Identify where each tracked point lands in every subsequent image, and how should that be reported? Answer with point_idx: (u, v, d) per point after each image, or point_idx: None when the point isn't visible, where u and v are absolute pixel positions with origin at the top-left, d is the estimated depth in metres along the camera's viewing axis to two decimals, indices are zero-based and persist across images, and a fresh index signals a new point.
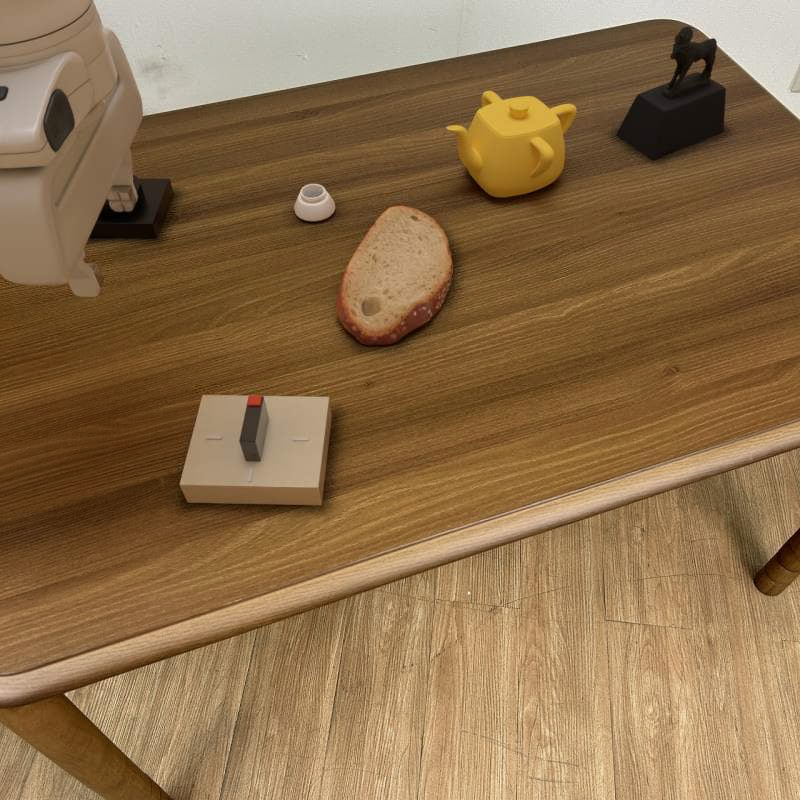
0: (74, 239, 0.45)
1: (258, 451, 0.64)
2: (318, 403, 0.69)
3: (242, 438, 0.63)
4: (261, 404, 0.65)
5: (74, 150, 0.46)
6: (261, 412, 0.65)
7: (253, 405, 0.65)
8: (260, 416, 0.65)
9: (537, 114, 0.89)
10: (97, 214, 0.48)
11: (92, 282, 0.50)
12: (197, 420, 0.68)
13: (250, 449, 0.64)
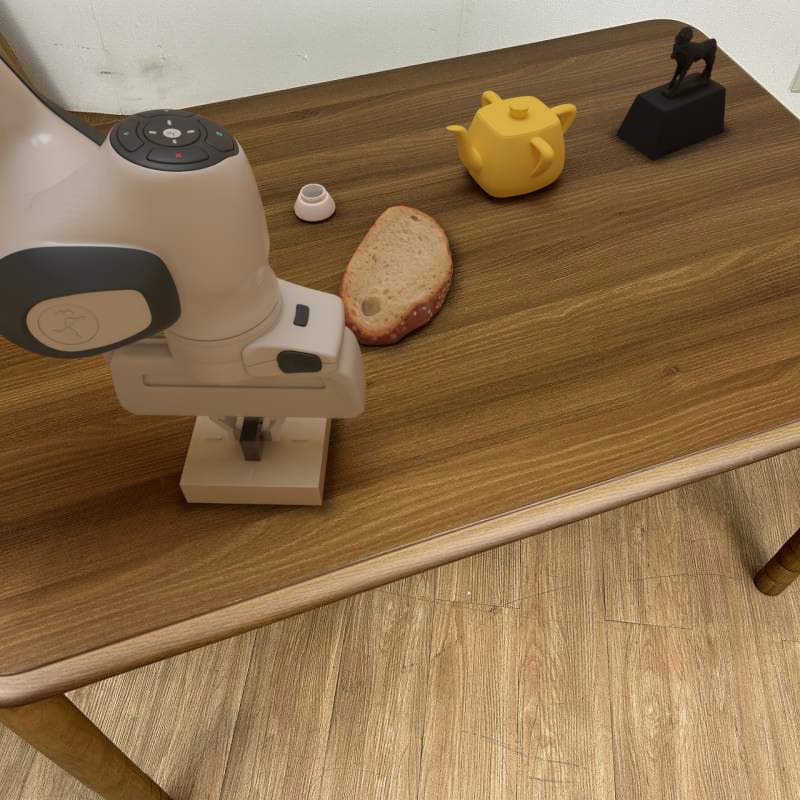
0: None
1: (258, 451, 0.64)
2: None
3: (242, 438, 0.63)
4: None
5: None
6: None
7: None
8: None
9: (537, 114, 0.89)
10: None
11: None
12: (197, 420, 0.68)
13: (250, 449, 0.64)
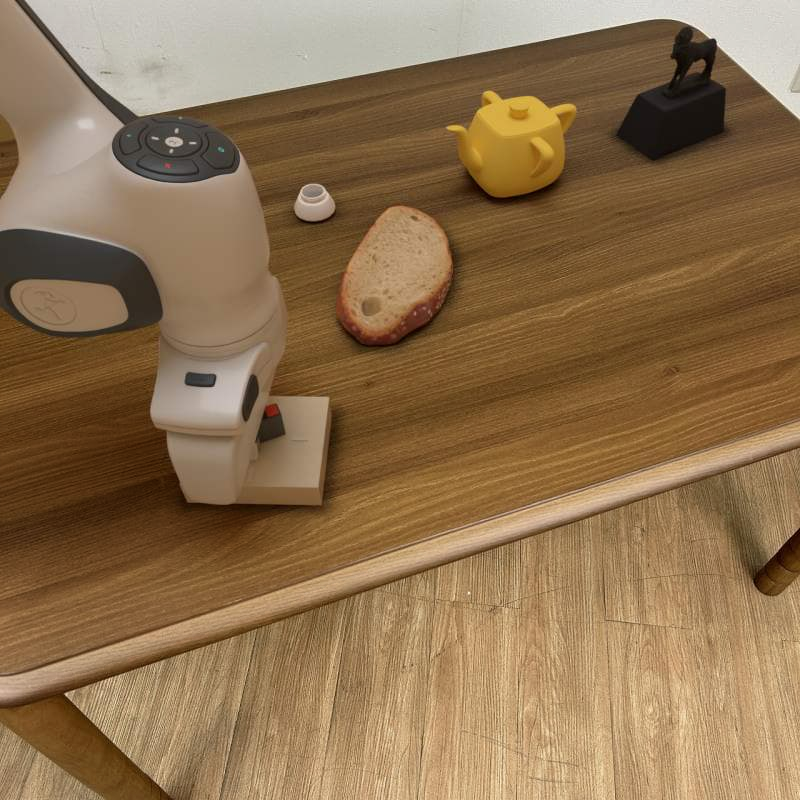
0: (243, 466, 0.57)
1: None
2: (318, 403, 0.69)
3: None
4: (270, 417, 0.64)
5: None
6: (263, 422, 0.64)
7: (265, 412, 0.65)
8: None
9: (537, 114, 0.89)
10: None
11: (254, 452, 0.64)
12: None
13: None
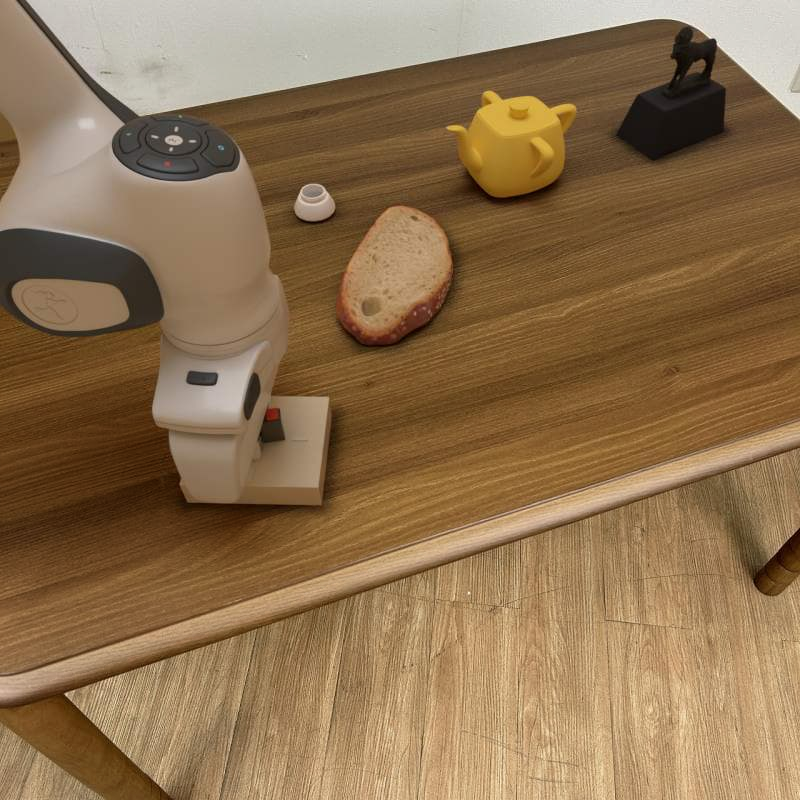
0: (246, 464, 0.57)
1: None
2: (318, 403, 0.69)
3: None
4: (269, 421, 0.64)
5: None
6: (262, 424, 0.64)
7: (266, 414, 0.64)
8: None
9: (537, 114, 0.89)
10: (259, 433, 0.60)
11: (257, 451, 0.64)
12: None
13: None
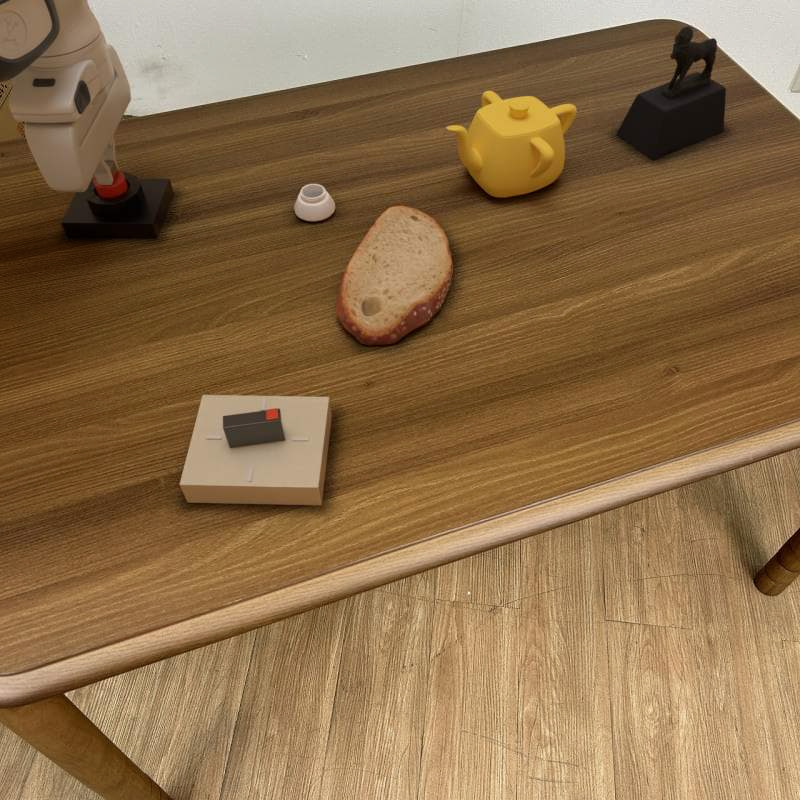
0: (89, 166, 0.79)
1: (228, 439, 0.65)
2: (318, 403, 0.69)
3: (226, 417, 0.64)
4: (269, 421, 0.64)
5: (89, 115, 0.80)
6: (261, 424, 0.64)
7: (266, 415, 0.64)
8: (256, 425, 0.64)
9: (537, 114, 0.89)
10: (102, 154, 0.82)
11: (109, 175, 0.86)
12: (197, 420, 0.68)
13: None
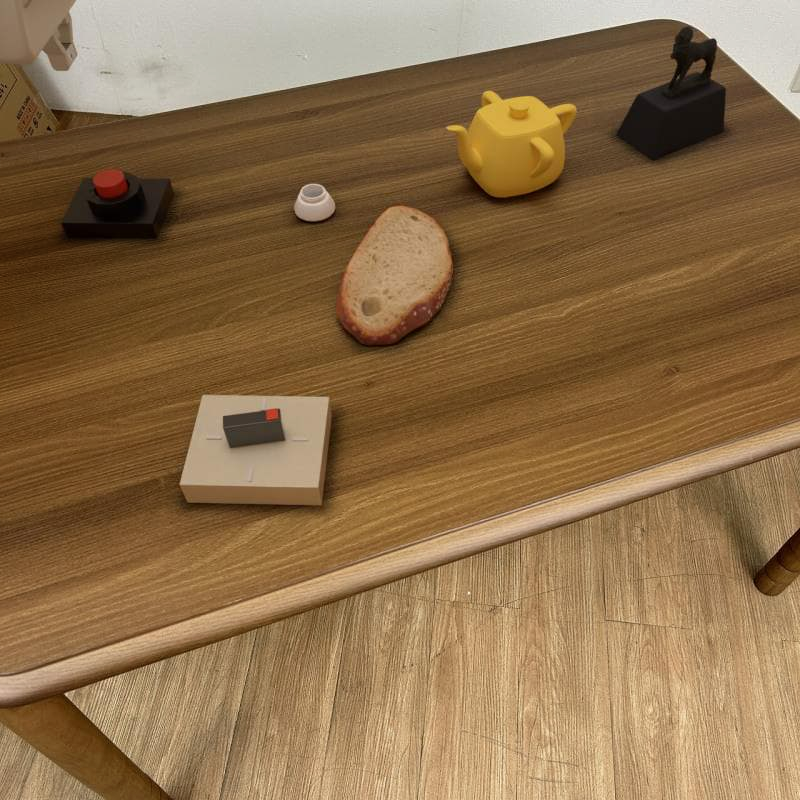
0: (37, 35, 0.68)
1: (228, 439, 0.65)
2: (318, 403, 0.69)
3: (226, 417, 0.64)
4: (269, 421, 0.64)
5: None
6: (261, 424, 0.64)
7: (266, 415, 0.64)
8: (256, 425, 0.64)
9: (537, 114, 0.89)
10: (54, 27, 0.71)
11: (64, 58, 0.75)
12: (197, 420, 0.68)
13: None
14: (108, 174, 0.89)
